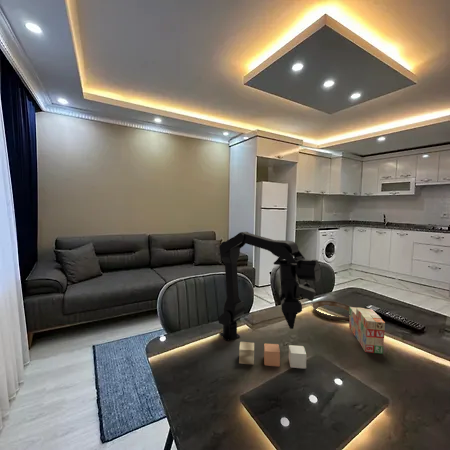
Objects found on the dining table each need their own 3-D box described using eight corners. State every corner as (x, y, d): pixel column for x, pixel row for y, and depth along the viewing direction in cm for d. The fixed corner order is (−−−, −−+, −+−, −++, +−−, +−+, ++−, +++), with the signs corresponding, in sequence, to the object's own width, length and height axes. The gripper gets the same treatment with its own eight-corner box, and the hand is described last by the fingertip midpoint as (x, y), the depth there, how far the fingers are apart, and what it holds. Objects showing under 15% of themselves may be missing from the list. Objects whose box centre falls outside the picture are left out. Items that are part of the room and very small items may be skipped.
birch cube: (239, 363, 86) (239, 349, 86) (239, 355, 91) (240, 341, 90) (253, 364, 85) (254, 350, 85) (253, 356, 90) (254, 342, 90)
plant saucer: (364, 323, 118) (365, 316, 118) (320, 322, 119) (320, 315, 119) (344, 306, 139) (344, 300, 139) (307, 306, 139) (307, 300, 139)
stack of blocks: (348, 326, 115) (349, 300, 114) (363, 328, 114) (364, 301, 113) (365, 352, 94) (366, 320, 93) (383, 354, 93) (385, 321, 92)
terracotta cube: (264, 365, 85) (264, 351, 85) (263, 356, 90) (264, 343, 90) (279, 366, 84) (279, 352, 84) (278, 358, 89) (278, 344, 89)
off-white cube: (290, 367, 84) (290, 353, 84) (288, 358, 89) (288, 345, 89) (305, 368, 83) (306, 354, 83) (303, 359, 88) (303, 346, 88)
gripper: (318, 284, 76) (320, 336, 76) (308, 272, 94) (310, 313, 95) (280, 284, 78) (282, 334, 78) (278, 272, 96) (279, 313, 97)
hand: (290, 322), depth 87 cm, fingers open, 9 cm apart
